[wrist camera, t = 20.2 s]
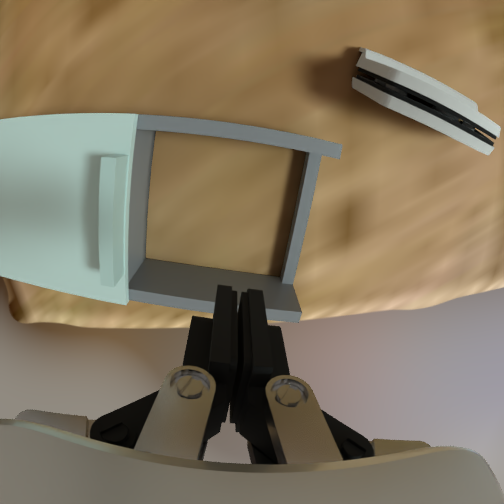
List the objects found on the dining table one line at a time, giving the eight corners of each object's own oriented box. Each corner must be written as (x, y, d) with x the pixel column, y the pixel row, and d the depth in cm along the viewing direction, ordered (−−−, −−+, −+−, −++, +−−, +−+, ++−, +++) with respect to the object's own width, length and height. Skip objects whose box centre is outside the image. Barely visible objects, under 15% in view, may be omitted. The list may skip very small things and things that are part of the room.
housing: (26, 119, 25) (-24, 122, 17) (320, 142, 28) (351, 145, 20) (27, 247, 31) (-14, 277, 23) (288, 287, 34) (302, 335, 26)
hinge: (471, 100, 26) (521, 130, 19) (459, 131, 29) (504, 167, 22) (356, 46, 24) (394, 54, 17) (345, 84, 28) (377, 106, 20)
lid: (-3, 120, 19) (-25, 122, 16) (138, 114, 20) (122, 111, 17) (4, 272, 25) (-13, 286, 22) (128, 300, 26) (117, 320, 23)
